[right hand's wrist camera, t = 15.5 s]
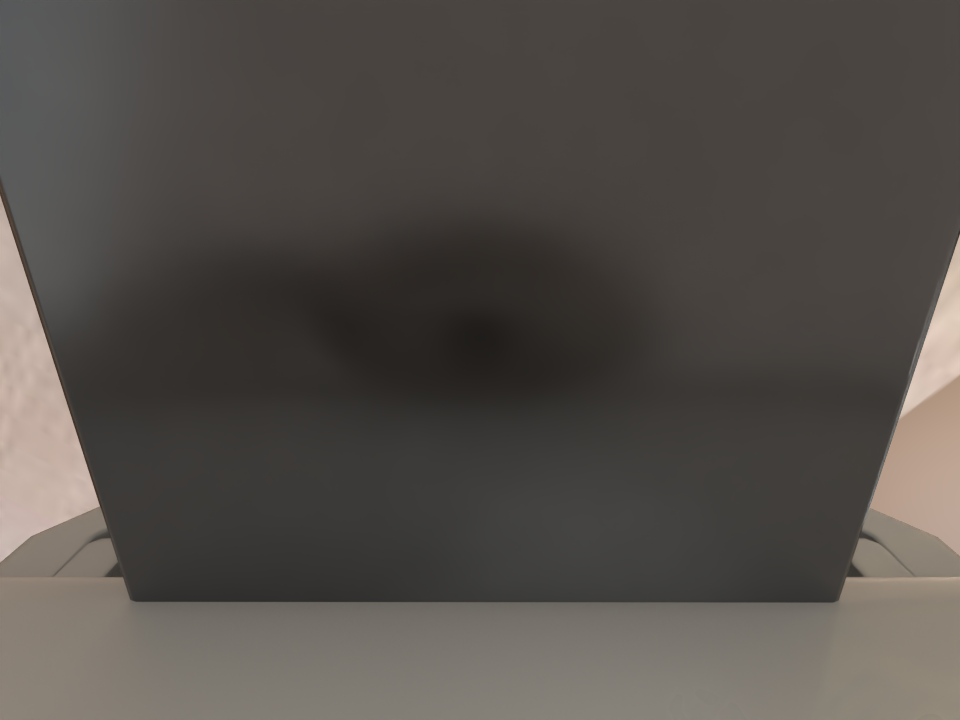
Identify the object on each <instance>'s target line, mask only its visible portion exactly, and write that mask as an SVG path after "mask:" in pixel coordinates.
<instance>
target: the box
mask: <svg viewBox="0 0 960 720" xmlns="http://www.w3.org/2000/svg"><path fill="white" fill-rule="evenodd" d="M0 196H1V199H2V202H3V205H4V208H5V211H6V214H7V218H8V221H9V224H10V227H11V230H12V233H13V236H14V239H15V242H16V246H17V249H18V252H19V255H20V258H21V261H22V264H23V267H24V270H25V274H26V277H27V280H28V283H29V286H30V289H31V292H32V295H33V299H34V302H35V305H36V308H37V311H38V314H39V317H40V320H41V323H42V327H43V330H44V333H45V336H46V339H47V342H48V345H49V348H50V351H51V355H52V358H53V361H54V364H55V367H56V370H57V373H58V376H59V380H60V383H61V386H62V389H63V392H64V395H65V398H66V401H67V404H68V408H69V411H70V414H71V417H72V420H73V423H74V426H75V429H76V432H77V436H78V439H79V442H80V445H81V448H82V451H83V454H84V457H85V461H86V464H87V467H88V470H89V473H90V476H91V479H92V482H93V485H94V489H95V492H96V495H97V498H98V501H99V504H100V507H101V510H102V513H103V517H104V520H105V523H106V526H107V529H108V532H109V535H110V538H111V542H112V545H113V548H114V551H115V554H116V557H117V560H118V563H119V566H120V570H121V573H122V576H123V579H124V582H125V585H126V588H127V591H128V595H129V598H130V600H132V601H135V602H705V603H833V602H836V601H839V598H840V595H841V592H842V589H843V586H844V583H845V580H846V577H847V574H848V571H849V568H850V565H851V562H852V559H853V556H854V553H855V550H856V547H857V544H858V541H859V538H860V535H861V531H862V528H863V525H864V522H865V519H866V516H867V513H868V510H869V507H870V504H871V501H872V498H873V495H874V492H875V489H876V486H877V483H878V480H879V477H880V474H881V471H882V468H883V465H884V462H885V459H886V456H887V453H888V450H889V447H890V444H891V441H892V437H893V435H894V431H895V428H896V425H897V422H898V419H899V416H900V413H901V410H902V407H903V404H904V401H905V398H906V395H907V392H908V389H909V386H910V383H911V380H912V377H913V374H914V371H915V368H916V365H917V362H918V359H919V356H920V353H921V350H922V347H923V344H924V341H925V338H926V335H927V332H928V329H929V325H930V322H931V319H932V316H933V313H934V310H935V307H936V304H937V301H938V298H939V295H940V292H941V289H942V286H943V283H944V280H945V277H946V274H947V271H948V268H949V265H950V262H951V259H952V256H953V253H954V250H955V247H956V244H957V241H958V238H959V235H960V0H0Z"/></svg>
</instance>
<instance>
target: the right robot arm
mask: <svg viewBox="0 0 960 720" xmlns="http://www.w3.org/2000/svg"><path fill="white" fill-rule="evenodd" d="M0 720H960V556H959V555H958V554H957V553H956V552H954V551H953V550H952V549H951V548H950V547H948V546H947V545H946V544H945V543H944V542H943V541H941V540H940V539H939V538H938V537H936V536H934V535H931V534H929V533H927V532H924V531H922V530H920V529H917V528H915V527H913V526H910V525H908V524H906V523H903V522H901V521H899V520H896V519H894V518H892V517H889V516H887V515H885V514H883V513H880V512H878V511H875V510H873V509H871V508H869V510H868V513H867V516H866V519H865V522H864V525H863V528H862V531H861V535H860V538H859V541H858V544H857V547H856V550H855V553H854V556H853V559H852V562H851V565H850V568H849V571H848V574H847V577H846V580H845V583H844V586H843V589H842V592H841V595H840V598H839V601H836V602H833V603H705V602H135V601H132V600H130V598H129V595H128V591H127V588H126V585H125V582H124V579H123V576H122V573H121V570H120V566H119V563H118V560H117V557H116V554H115V551H114V548H113V545H112V542H111V538H110V535H109V532H108V529H107V526H106V523H105V520H104V517H103V513H102V510H101V507H98V508H96V509H93V510H91V511H89V512H86V513H84V514H82V515H79V516H77V517H75V518H72V519H70V520H68V521H66V522H63V523H61V524H59V525H56V526H54V527H52V528H49V529H47V530H45V531H43V532H40V533H38V534H36V535H33V536H31V537H30V538H29V539H28V540H26V541H25V542H24V543H23V544H22V545H21V546H19V547H18V548H17V549H16V550H15V551H14V552H12V553H11V554H10V555H9V556H8V557H6V558H5V559H4V560H3V561H2V562H1V563H0Z"/></svg>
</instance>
